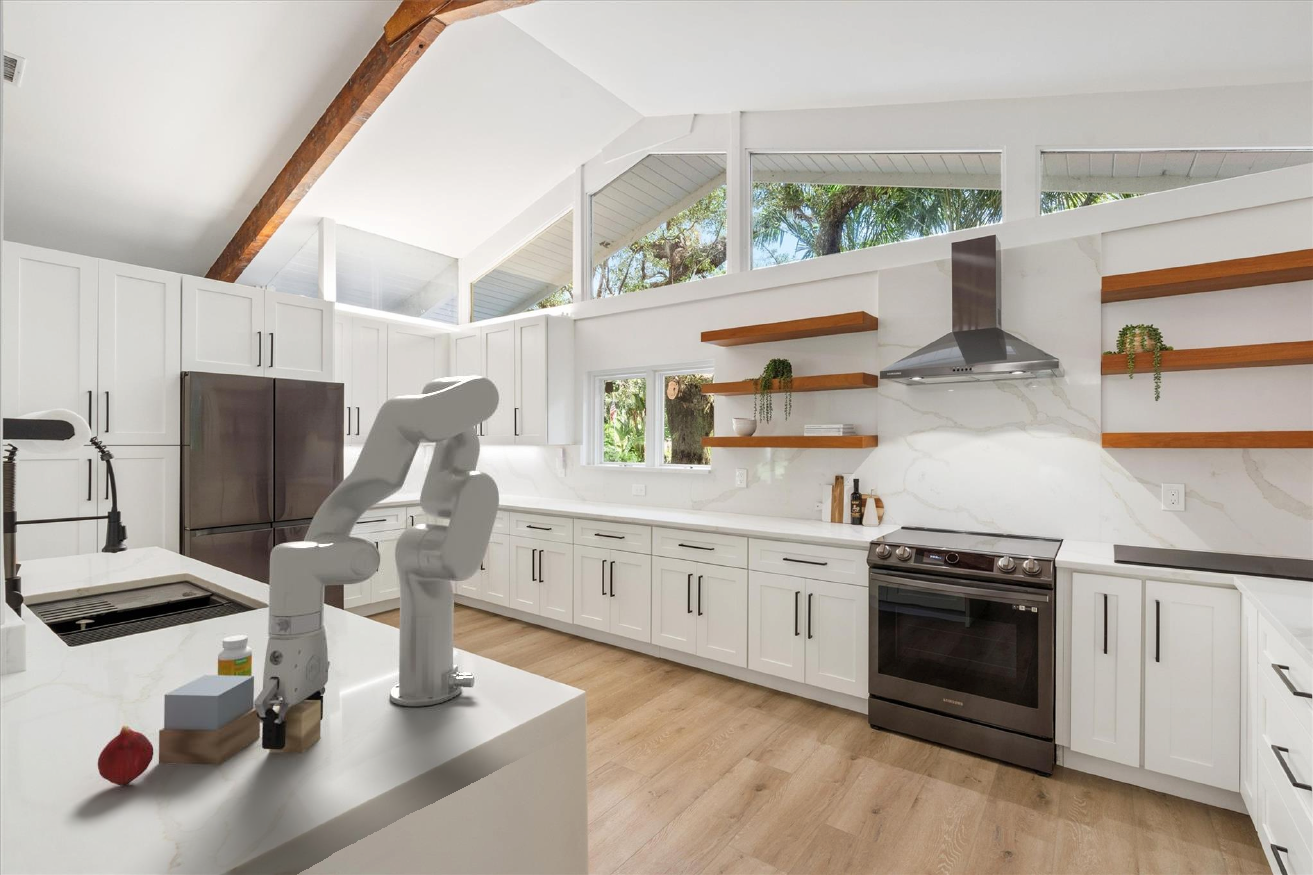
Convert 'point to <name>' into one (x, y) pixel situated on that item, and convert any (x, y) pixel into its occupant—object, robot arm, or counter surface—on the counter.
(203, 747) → the tower base
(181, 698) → the grey square block
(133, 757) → the onion
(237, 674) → the supplement bottle
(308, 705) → the oak block
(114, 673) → the counter surface
